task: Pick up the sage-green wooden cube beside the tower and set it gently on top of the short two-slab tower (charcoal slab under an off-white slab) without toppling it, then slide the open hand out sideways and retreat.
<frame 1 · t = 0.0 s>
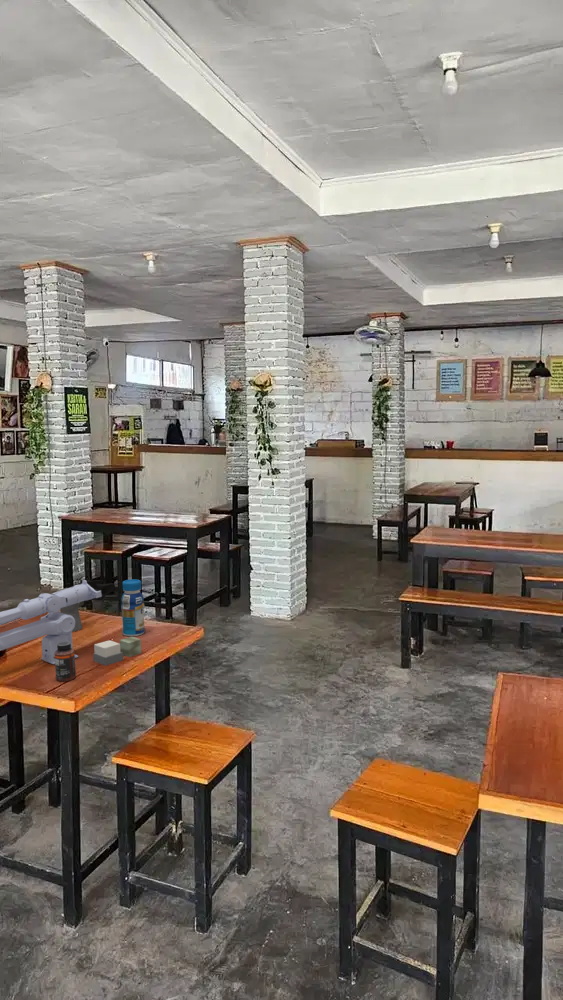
hand: (107, 584, 249), 22 cm above the table, tool horizontal, fingers open, 7 cm apart
tower top: (107, 652, 234), point 3 cm above the table, touching tower base
coffeepot: (73, 628, 271), on the table
beverage bottle: (133, 634, 263), on the table
supplement bottle: (66, 679, 219), on the table
tower base: (108, 661, 234), on the table, touching tower top
sage block: (130, 653, 241), on the table
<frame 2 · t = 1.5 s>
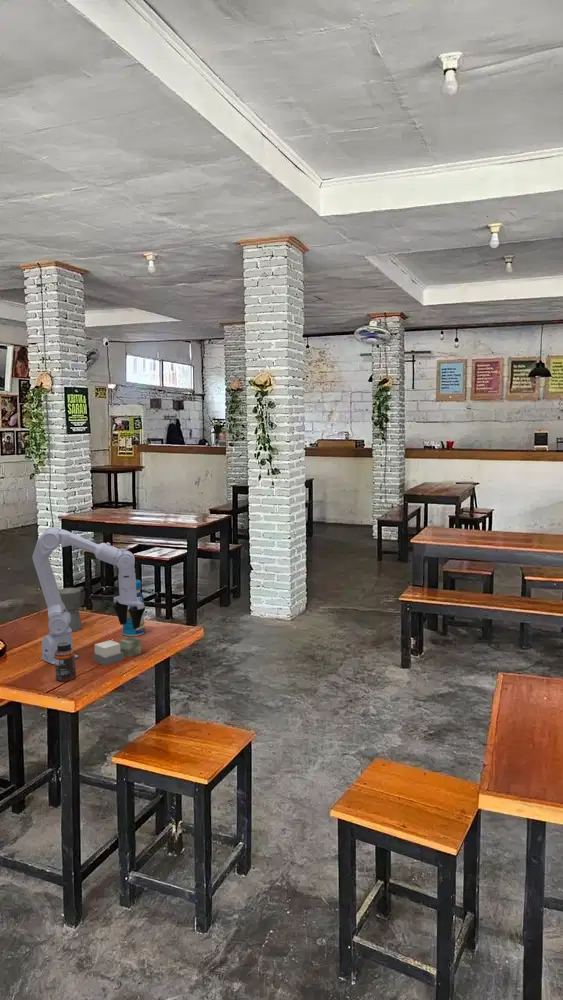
hand: (129, 626, 240), 10 cm above the table, tool pointing down, fingers open, 7 cm apart
tower top: (107, 652, 234), point 3 cm above the table
tower base: (108, 661, 234), on the table
everything else where it was.
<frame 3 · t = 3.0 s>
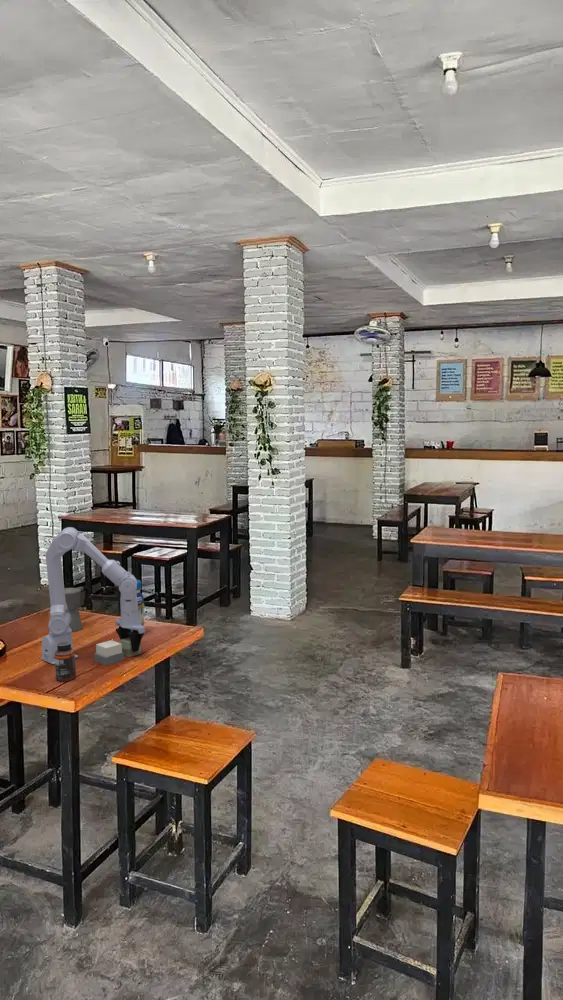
hand: (130, 649, 241), 1 cm above the table, tool pointing down, fingers closed on sage block, 5 cm apart
tower top: (109, 652, 234), point 3 cm above the table, touching tower base
tower base: (109, 661, 234), on the table, touching tower top
sage block: (130, 653, 241), on the table, touching gripper
everything else where it was.
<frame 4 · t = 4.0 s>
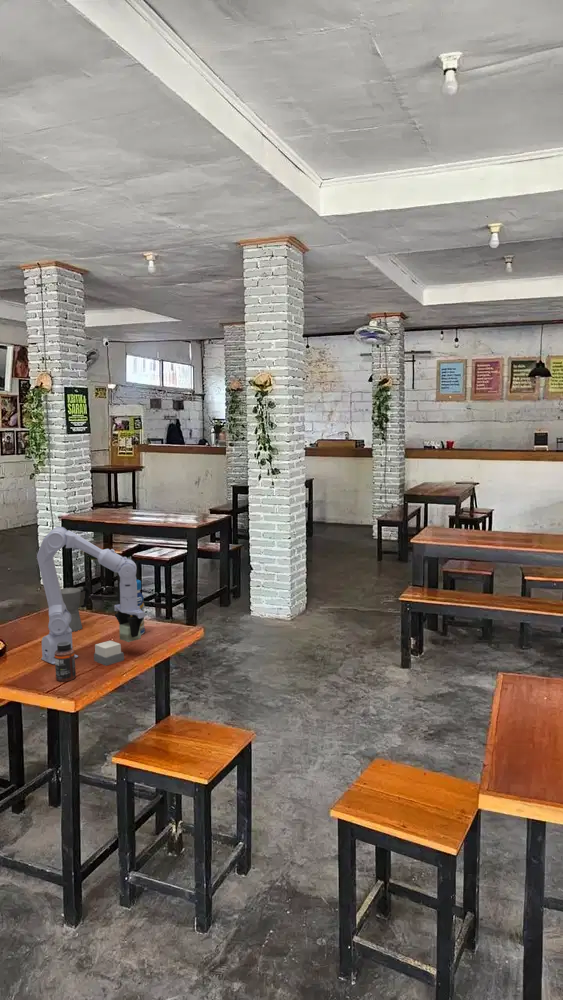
hand: (129, 634, 240), 7 cm above the table, tool pointing down, fingers closed on sage block, 5 cm apart
sage block: (130, 639, 240), point 5 cm above the table, touching gripper
everything else where it was.
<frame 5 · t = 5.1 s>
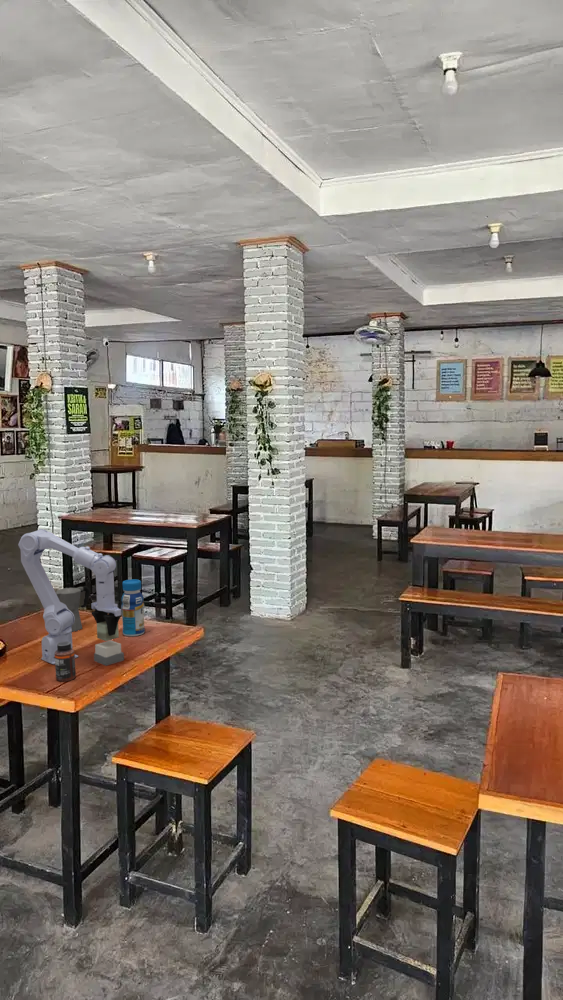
hand: (107, 633, 233), 9 cm above the table, tool pointing down, fingers closed on sage block, 5 cm apart
sage block: (108, 637, 234), point 8 cm above the table, touching gripper
everything else where it was.
when the fingers open (9 cm above the table, at t = 5.8 s): sage block drops 2 cm, point 6 cm above the table.
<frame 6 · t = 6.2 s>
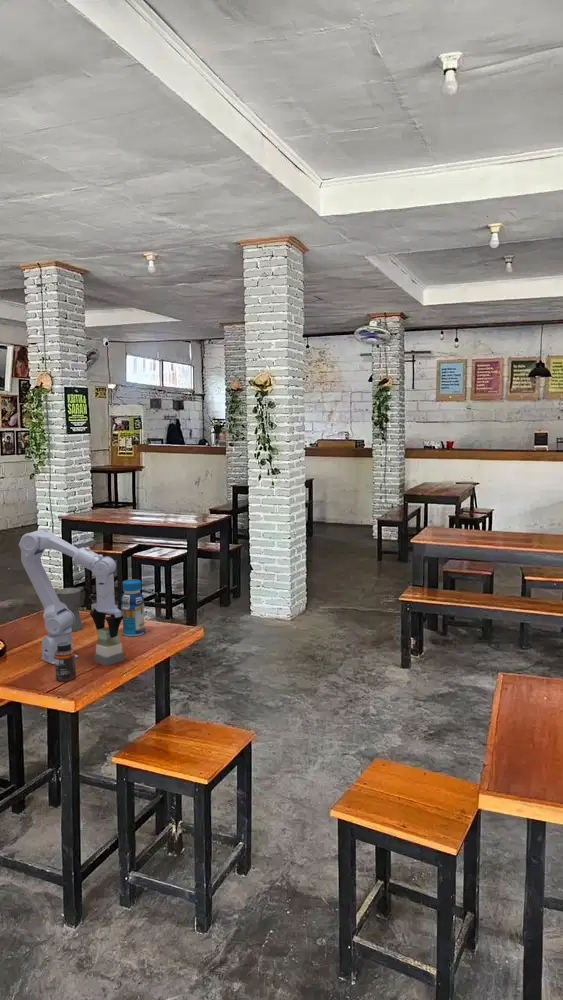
hand: (107, 634, 233), 9 cm above the table, tool pointing down, fingers open, 7 cm apart
sage block: (108, 643, 234), point 6 cm above the table
everything else where it was.
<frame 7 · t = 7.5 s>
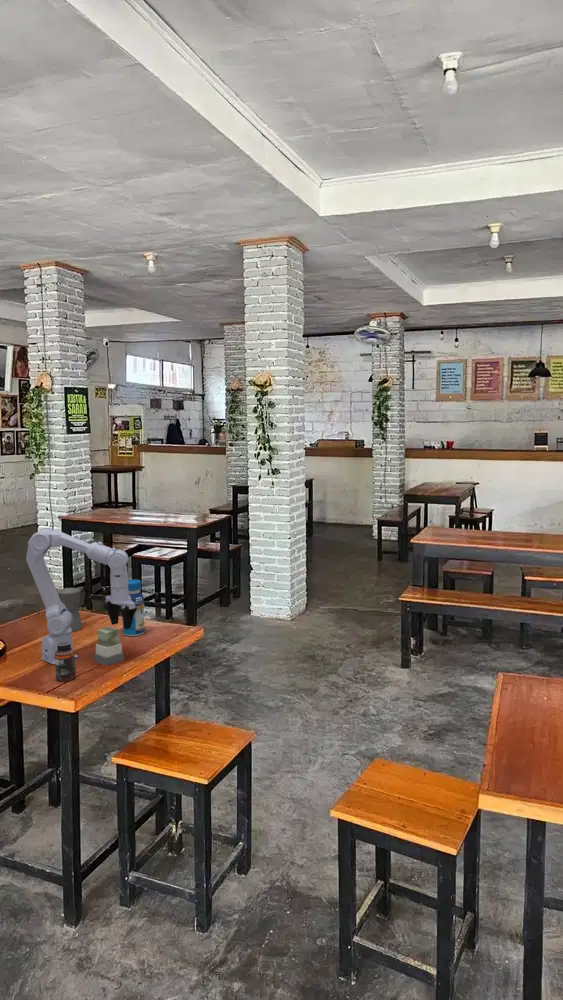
hand: (121, 626, 237), 10 cm above the table, tool pointing down, fingers open, 7 cm apart
nothing on the table moved.
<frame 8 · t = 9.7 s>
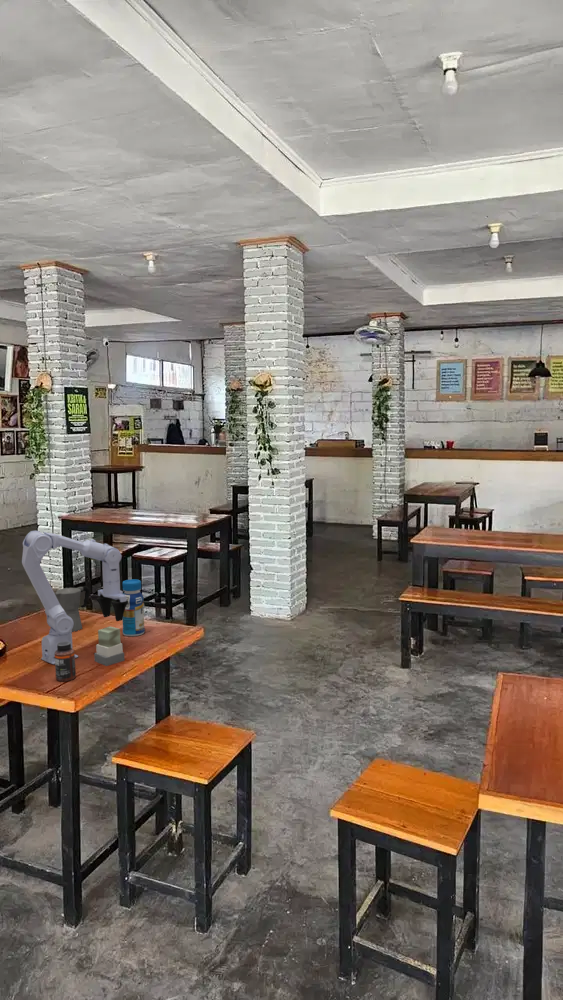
hand: (112, 618, 246), 10 cm above the table, tool pointing down, fingers open, 7 cm apart
tower top: (109, 652, 234), point 3 cm above the table, touching sage block, tower base
sage block: (109, 644, 233), point 6 cm above the table, touching tower top
everything else where it was.
at the end: sage block 0.3 cm off-centre on the tower base, point 6.0 cm above the tower base's base; tower top 0.2 cm off-centre on the tower base, point 3.0 cm above the tower base's base; the gripper is holding nothing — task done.
